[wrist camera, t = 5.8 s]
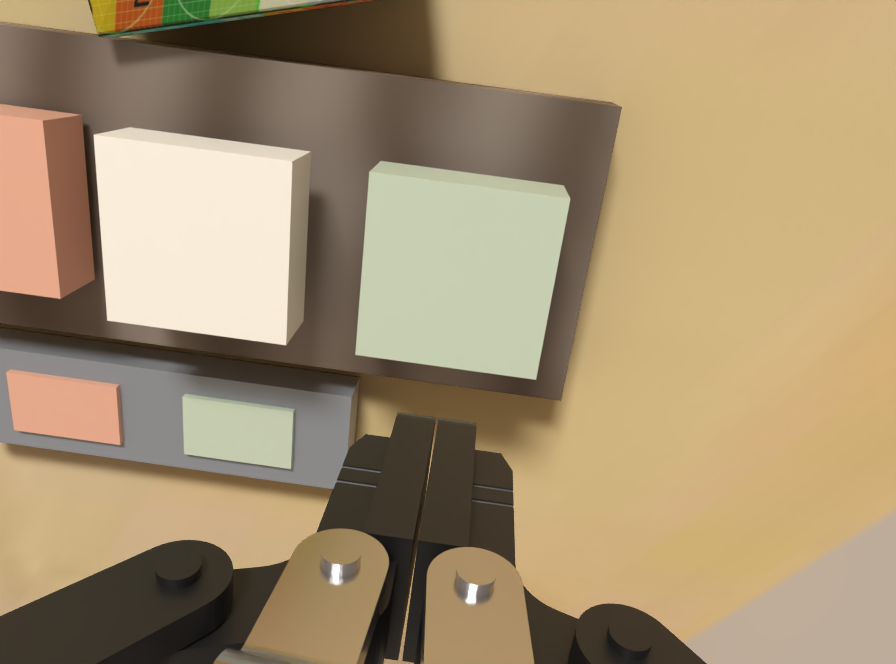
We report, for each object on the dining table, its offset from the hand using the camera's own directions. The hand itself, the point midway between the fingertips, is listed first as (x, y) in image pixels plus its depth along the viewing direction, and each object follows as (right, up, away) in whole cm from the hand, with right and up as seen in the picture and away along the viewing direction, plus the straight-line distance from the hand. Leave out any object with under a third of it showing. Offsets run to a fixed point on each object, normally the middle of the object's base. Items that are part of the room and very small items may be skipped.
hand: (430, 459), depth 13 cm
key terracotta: (-17, +8, +14) cm, 23 cm away
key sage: (+1, +5, +12) cm, 13 cm away
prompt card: (-13, -1, +20) cm, 24 cm away
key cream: (-8, +6, +13) cm, 16 cm away
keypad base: (-8, +8, +16) cm, 20 cm away
